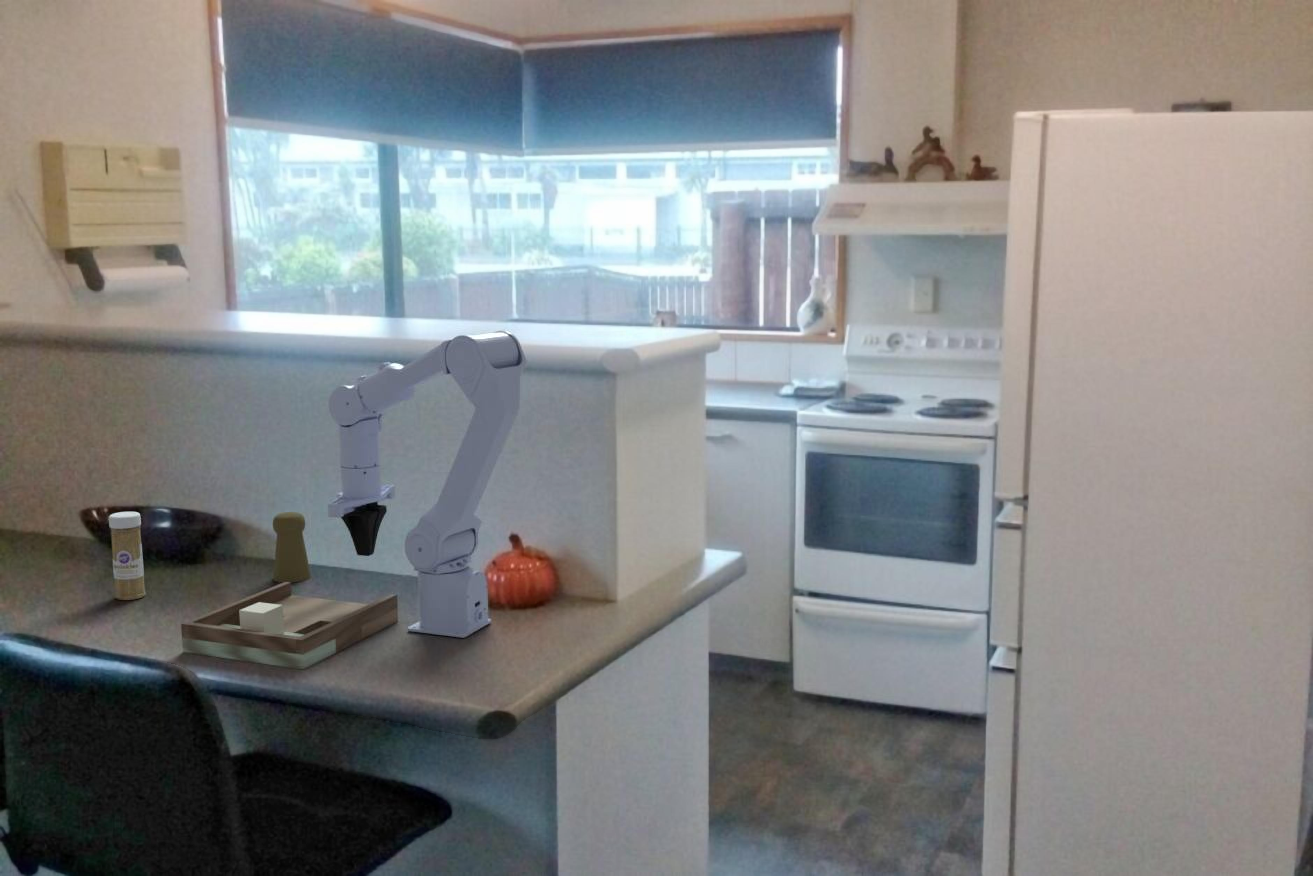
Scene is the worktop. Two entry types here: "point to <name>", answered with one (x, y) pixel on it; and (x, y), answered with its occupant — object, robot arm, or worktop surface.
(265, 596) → the box
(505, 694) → the worktop surface
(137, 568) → the sprinkles bottle
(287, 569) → the cork
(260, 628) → the cream cube
